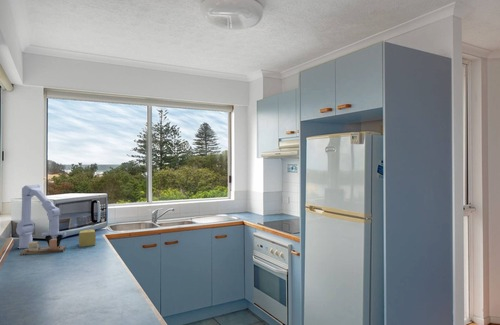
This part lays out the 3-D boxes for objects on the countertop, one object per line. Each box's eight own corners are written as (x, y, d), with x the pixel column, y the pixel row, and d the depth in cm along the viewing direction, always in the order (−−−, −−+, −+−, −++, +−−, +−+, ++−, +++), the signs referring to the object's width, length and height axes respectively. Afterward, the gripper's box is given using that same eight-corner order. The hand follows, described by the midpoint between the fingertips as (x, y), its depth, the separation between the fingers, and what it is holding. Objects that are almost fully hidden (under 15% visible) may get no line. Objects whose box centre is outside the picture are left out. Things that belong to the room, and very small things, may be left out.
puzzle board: (25, 250, 231) (25, 248, 231) (65, 247, 238) (65, 245, 238) (20, 255, 220) (20, 252, 220) (62, 251, 228) (62, 249, 228)
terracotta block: (51, 248, 233) (51, 238, 233) (59, 248, 234) (59, 238, 234) (49, 250, 229) (49, 240, 229) (56, 249, 230) (56, 240, 229)
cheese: (79, 243, 250) (79, 230, 250) (95, 242, 255) (95, 228, 255) (78, 247, 241) (78, 232, 241) (95, 245, 245) (95, 231, 245)
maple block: (30, 251, 229) (30, 241, 229) (38, 251, 230) (38, 241, 230) (28, 253, 225) (28, 243, 224) (36, 252, 226) (36, 242, 226)
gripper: (67, 224, 236) (67, 244, 236) (44, 225, 234) (44, 245, 234) (64, 226, 229) (64, 247, 229) (40, 227, 227) (40, 248, 227)
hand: (54, 246), depth 231 cm, fingers closed on terracotta block, 4 cm apart
